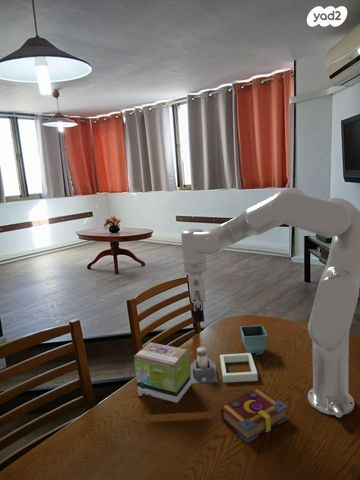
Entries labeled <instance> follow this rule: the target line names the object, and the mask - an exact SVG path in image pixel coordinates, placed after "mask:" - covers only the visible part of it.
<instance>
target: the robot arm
mask: <svg viewBox="0 0 360 480" xmlns="http://www.w3.org/2000/svg"><path fill="white" fill-rule="evenodd" d="M281 225H288V226H290V227H293V228H296V229H300V230H303V231H307V232H310V233H314V234H316V235H321V236H325V237H326V236H327V237H332V239H331V243H330V249H329V253H328V256H327V257H328V258H327V260H326V264H325V268H324V271H323V273H322V274H321V276H320V279H319V282H318V286H317V288H316V292H315V296H314V301H313V304H312V305H313V306H312V309H311V313H310V316H309V320H308V324H307V325H308V326H307V331H308V334H309V337H310V339H311V340H312V388H311V389H310V390H309V391H308V393H307V401H308V403H309V404H310V405H311V407H312V408H314V409H315V410H317V411H318V412H320V413H323V414H325V415H326V414H327V415H330V416H331V415H332V416H336V417H337V418H342V417H343V416H344V415H347V414H350V413H351V412H352V411H354V407H355V400H354V397H353V396H352V395H351V394H350V393H349V360H350V359H349V356H350V354H349V353H350V351H349V350H350V347H349V345H350V344H349V343H350V340H349V339H350V329H351V325H352V322H353V321H352V320H353V318H354V314H355V311H356V308H357V304H358V299H359V294H360V293H359V292H360V210H359V209H358V208H357V206H355V205H354V204H353V203H351V202H350V201H349V200H346V199H344V198H341V197H332V198H328V199H326V200H325V199H321V198H316V197H313V196H310V195H306V194H305V193H304V192H303V191H302V190H301V189H299V188H297V187H288V188H284V189H282V190H281V191H279V192H276V193H275V194H273V195H271V196H269V197H267V198H266V199H264V200H262V201H260V202H258V203H255V204H254V205H252V206H250V207H247V208H246V209H245V210H244V211H243V212H242V213H240V214H239V215H237V216H235V217H234V218H232V219H230V220H228V221H226V222H224V223H221V224H220V225H218V226H214V227H213V228H212V229H209V230H207V231H203V229H202V228H201V229H200V228H189V229H184V230H183V231H182V232H181V234H180V235H181V236H180V237H181V249H182V260H183V263H182V264H183V272H184V274H187V275H188V277H187V278H188V286H189V287H188V288H189V294H190V301H191V303H192V304H193V320H194V323H203V322H205V313H204V303H206V302H207V289H206V279H205V278H206V277H205V273H206V272H208V266H207V255H210V256H212V255H213V256H215V255H217V254H219V253H221V252H222V251H224V250H225V249H227V248H229V247H230V246H232V245H235V244H236V243H238V242H240V241H243V240H245V239H247V238H249V237H252V236H260V235H263V234H265V233H266V232H269V231H271V230H274V229H275V228H278V227H279V226H281Z"/></svg>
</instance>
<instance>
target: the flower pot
mask: <svg viewBox="0 0 360 480" xmlns="http://www.w3.org/2000/svg"><path fill="white" fill-rule="evenodd" d="M239 329H240V334H241V340H242V343H243V346H244V350H245V351H246V352H245V353H251V354H255V355H256V356H261V355H263V353H264V352H265V351H266V348H267V341H268V334H267V332H266V330H265V327H264V326H263V325H258V324H257V325H245V326H240V327H239Z"/></svg>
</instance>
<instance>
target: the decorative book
mask: <svg viewBox="0 0 360 480" xmlns="http://www.w3.org/2000/svg"><path fill="white" fill-rule="evenodd" d="M287 409H288V405H286V404H285V403H284V402H282V401H281V400H279V399H276V398H275V397H273V396H271V395H270V394H269V393H267V392H266V391H264V390H262V389H261V388H260V387H258V388H257V389H254V390H253V391H252V390H250V391H247V392H245V395H243V396H240V397H239V398H237V399H234V398H233V399H231V400H230V401H228V403H226V404H225V405H223V406H222V407H221V406H220V411H221V413H220V414H221V420H222V421H223V422H224V423H225V424H226V425H228V427H230V428H231V429H232V430H233V431H234V432H235V433H236V434H237V436H238V437H240V438H241V440H243V441H244V442H245V443H246V444H249V443H251V442H253V441H254V440H256V439H257V438H259V436H261V435H262V434H264V433H268V432H270V431H271V430H272V428H273V427H275V426H277V425H280V424H282V423H284V422H286V421H287V420H289V417H288V416H287V415H286V410H287Z"/></svg>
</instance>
